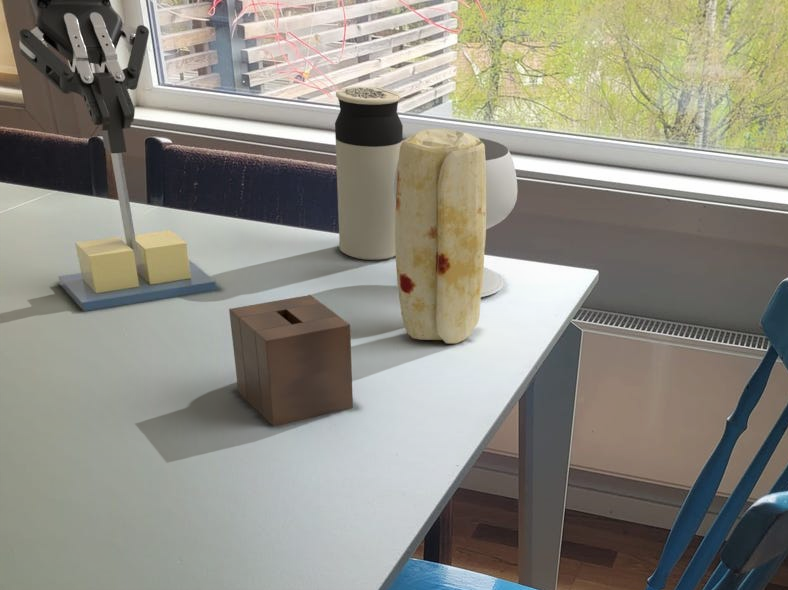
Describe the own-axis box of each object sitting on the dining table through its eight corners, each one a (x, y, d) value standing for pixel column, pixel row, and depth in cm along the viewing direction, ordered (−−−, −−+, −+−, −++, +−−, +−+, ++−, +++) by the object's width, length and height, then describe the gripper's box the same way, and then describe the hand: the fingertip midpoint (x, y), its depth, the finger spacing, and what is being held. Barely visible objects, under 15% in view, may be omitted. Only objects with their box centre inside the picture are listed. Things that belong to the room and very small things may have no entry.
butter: (83, 311, 107) (74, 264, 104) (60, 285, 113) (50, 239, 109) (216, 290, 114) (211, 245, 111) (187, 265, 119) (182, 222, 116)
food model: (464, 318, 111) (472, 120, 98) (494, 340, 106) (506, 136, 94) (385, 331, 107) (382, 127, 94) (412, 355, 102) (413, 143, 90)
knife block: (273, 427, 89) (265, 340, 84) (238, 392, 94) (228, 308, 89) (353, 408, 92) (350, 324, 87) (315, 375, 97) (310, 294, 92)
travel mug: (353, 264, 122) (349, 101, 111) (330, 244, 128) (323, 87, 117) (412, 257, 126) (413, 98, 114) (387, 238, 131) (386, 84, 120)
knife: (128, 252, 109) (98, 77, 98) (121, 245, 111) (90, 72, 100) (142, 250, 110) (114, 76, 99) (135, 243, 112) (106, 71, 101)
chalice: (392, 263, 124) (391, 130, 114) (503, 264, 125) (511, 134, 116) (396, 304, 113) (395, 162, 103) (517, 306, 114) (528, 166, 105)
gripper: (-16, -65, 94) (49, 106, 94) (127, -64, 101) (188, 96, 101) (-14, -6, 101) (46, 153, 101) (120, -9, 107) (177, 141, 107)
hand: (117, 124), depth 101 cm, fingers closed on knife, 1 cm apart
